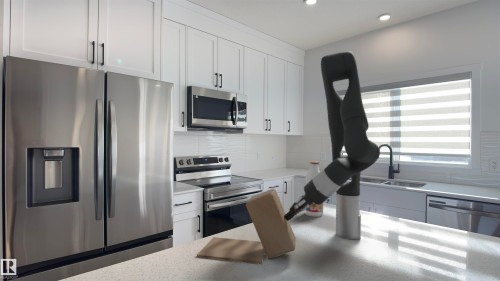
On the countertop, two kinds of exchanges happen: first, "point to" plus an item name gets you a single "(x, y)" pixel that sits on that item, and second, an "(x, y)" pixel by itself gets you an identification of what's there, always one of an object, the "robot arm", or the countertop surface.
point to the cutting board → (233, 250)
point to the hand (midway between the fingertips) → (286, 218)
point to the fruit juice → (314, 170)
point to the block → (271, 223)
